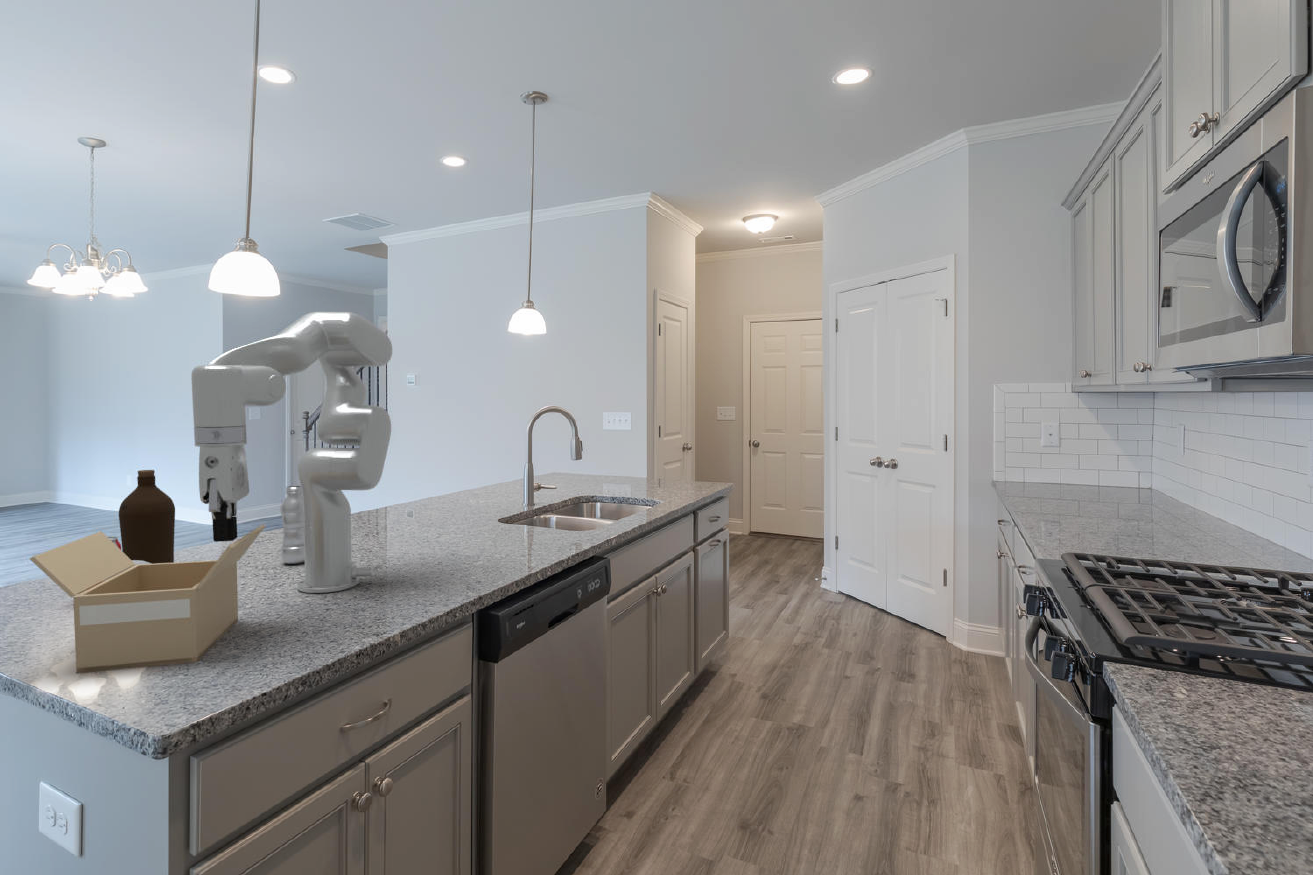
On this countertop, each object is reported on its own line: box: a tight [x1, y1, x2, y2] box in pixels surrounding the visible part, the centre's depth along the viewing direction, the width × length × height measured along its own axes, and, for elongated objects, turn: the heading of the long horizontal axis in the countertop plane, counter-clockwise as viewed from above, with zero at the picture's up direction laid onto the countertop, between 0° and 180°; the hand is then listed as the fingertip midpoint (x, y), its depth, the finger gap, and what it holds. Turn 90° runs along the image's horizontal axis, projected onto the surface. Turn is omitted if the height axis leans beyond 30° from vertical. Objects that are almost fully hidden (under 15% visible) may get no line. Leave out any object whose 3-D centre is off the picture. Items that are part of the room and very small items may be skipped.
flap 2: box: [197, 523, 267, 589], centre depth 113 cm, size 8×19×1 cm
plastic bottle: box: [280, 485, 305, 565], centre depth 165 cm, size 6×7×20 cm
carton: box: [72, 559, 239, 674], centre depth 110 cm, size 16×20×12 cm
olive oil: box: [118, 469, 176, 564], centre depth 154 cm, size 11×11×25 cm
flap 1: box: [29, 530, 135, 598], centre depth 107 cm, size 8×19×1 cm
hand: (225, 539), depth 113 cm, fingers closed
